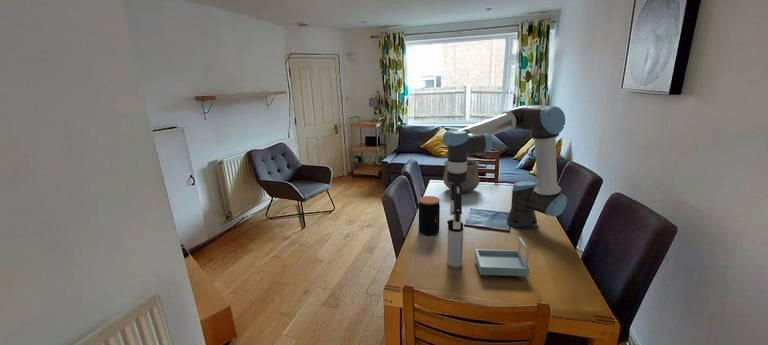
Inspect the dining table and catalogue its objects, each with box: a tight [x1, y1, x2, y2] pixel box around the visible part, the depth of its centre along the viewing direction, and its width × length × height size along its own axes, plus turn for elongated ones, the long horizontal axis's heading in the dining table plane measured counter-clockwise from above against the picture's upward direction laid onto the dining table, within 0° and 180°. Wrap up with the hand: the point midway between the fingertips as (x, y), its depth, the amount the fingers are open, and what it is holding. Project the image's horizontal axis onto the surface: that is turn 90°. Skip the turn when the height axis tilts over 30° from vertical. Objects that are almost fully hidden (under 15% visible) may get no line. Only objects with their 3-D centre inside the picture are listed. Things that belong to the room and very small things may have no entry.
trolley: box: [474, 236, 531, 281], centre depth 128 cm, size 18×14×12 cm
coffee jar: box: [418, 195, 441, 237], centre depth 163 cm, size 11×11×18 cm
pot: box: [443, 158, 481, 193], centre depth 224 cm, size 25×24×21 cm
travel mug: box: [446, 219, 464, 270], centre depth 132 cm, size 6×7×20 cm
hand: (454, 221), depth 129 cm, fingers open, 13 cm apart
